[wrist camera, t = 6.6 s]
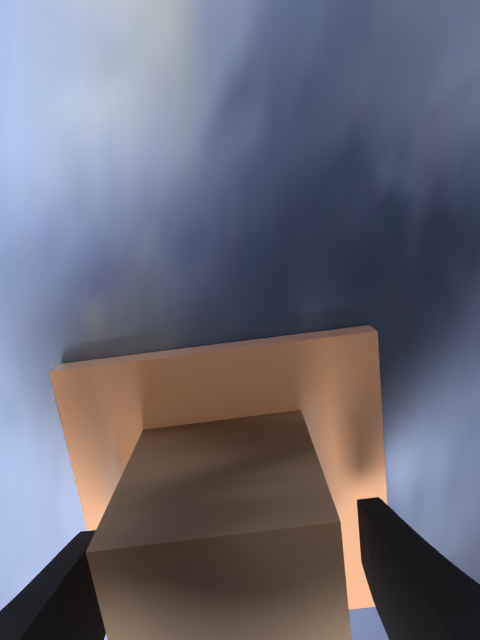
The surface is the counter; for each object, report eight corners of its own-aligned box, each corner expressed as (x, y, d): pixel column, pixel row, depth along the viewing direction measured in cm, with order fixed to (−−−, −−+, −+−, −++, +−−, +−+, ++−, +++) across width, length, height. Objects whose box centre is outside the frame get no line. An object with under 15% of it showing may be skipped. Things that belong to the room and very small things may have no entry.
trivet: (369, 325, 13) (377, 331, 12) (384, 585, 15) (392, 604, 14) (60, 363, 13) (48, 371, 12) (118, 615, 15) (112, 635, 15)
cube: (300, 410, 13) (340, 521, 8) (315, 545, 14) (358, 717, 9) (142, 429, 13) (85, 552, 8) (169, 563, 14) (133, 742, 9)
